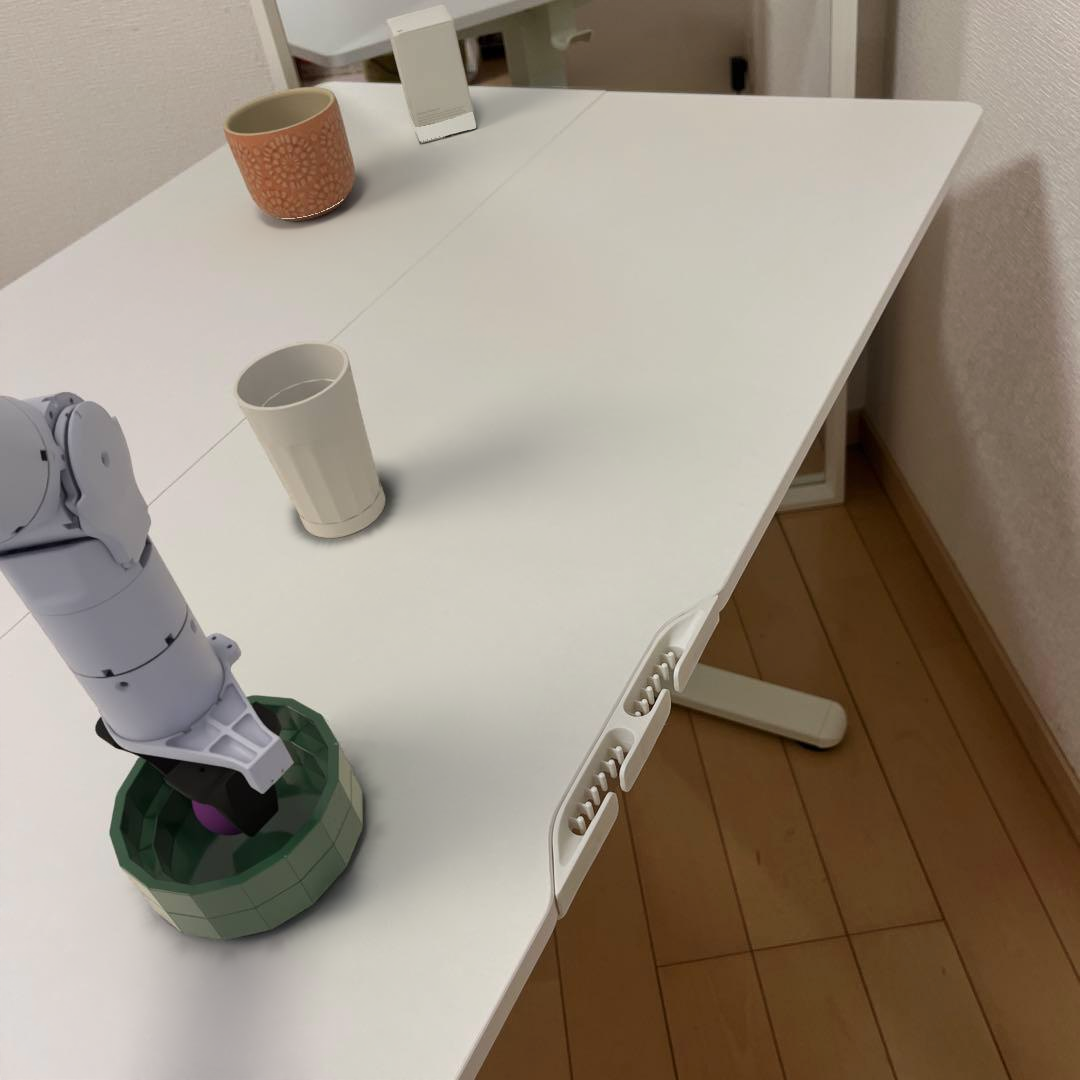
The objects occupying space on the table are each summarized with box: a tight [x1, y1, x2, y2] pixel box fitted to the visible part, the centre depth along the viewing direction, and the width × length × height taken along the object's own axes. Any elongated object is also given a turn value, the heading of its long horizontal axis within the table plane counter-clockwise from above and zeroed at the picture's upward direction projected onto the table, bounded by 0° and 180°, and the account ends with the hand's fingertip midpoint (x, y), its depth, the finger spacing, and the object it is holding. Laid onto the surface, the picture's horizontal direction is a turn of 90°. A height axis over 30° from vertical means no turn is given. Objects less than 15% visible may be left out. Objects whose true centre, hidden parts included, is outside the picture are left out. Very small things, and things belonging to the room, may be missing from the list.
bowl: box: [108, 694, 364, 941], centre depth 59 cm, size 12×12×5 cm
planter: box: [222, 86, 356, 222], centre depth 120 cm, size 12×12×11 cm
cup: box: [232, 340, 386, 539], centre depth 78 cm, size 8×8×12 cm
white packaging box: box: [385, 3, 474, 144], centre depth 130 cm, size 7×7×13 cm
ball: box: [192, 800, 243, 836], centre depth 58 cm, size 4×4×4 cm
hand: (235, 803), depth 59 cm, fingers closed on ball, 4 cm apart
